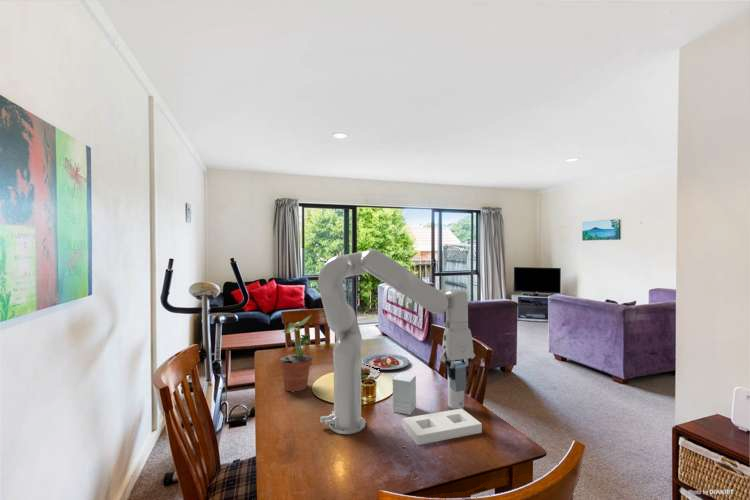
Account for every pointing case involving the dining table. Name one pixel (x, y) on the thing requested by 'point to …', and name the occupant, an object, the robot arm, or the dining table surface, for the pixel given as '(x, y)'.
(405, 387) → the supplement box
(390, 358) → the ceramic plate
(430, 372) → the dining table surface
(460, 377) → the plug
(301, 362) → the potted plant
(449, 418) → the socket panel
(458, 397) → the travel mug
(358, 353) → the robot arm
